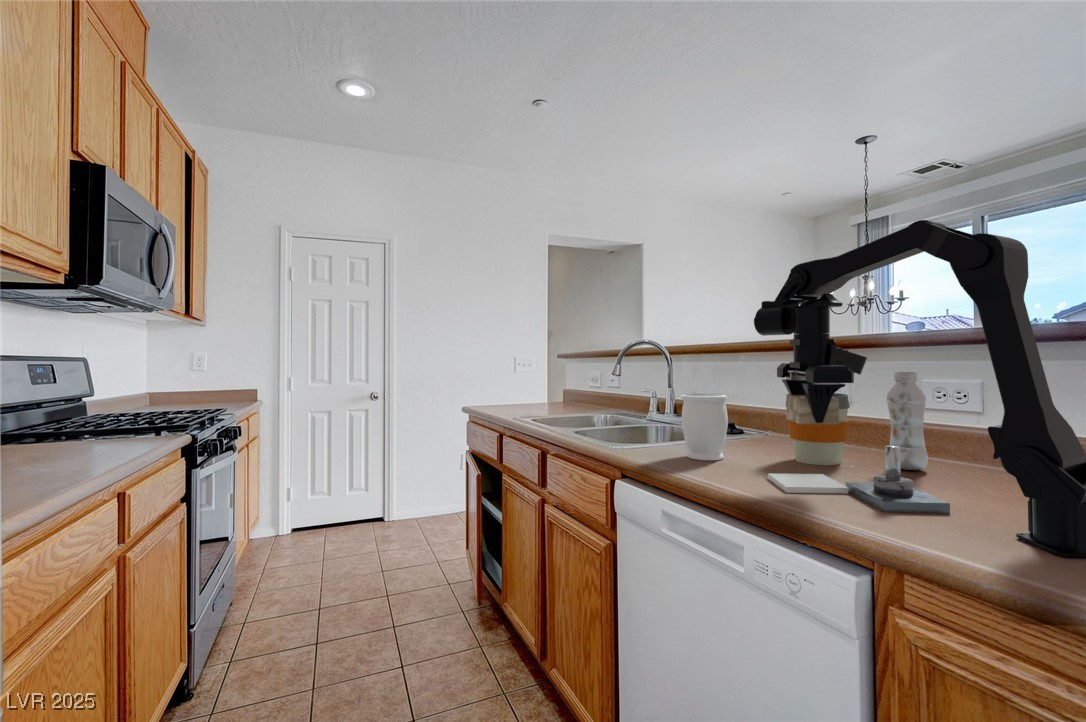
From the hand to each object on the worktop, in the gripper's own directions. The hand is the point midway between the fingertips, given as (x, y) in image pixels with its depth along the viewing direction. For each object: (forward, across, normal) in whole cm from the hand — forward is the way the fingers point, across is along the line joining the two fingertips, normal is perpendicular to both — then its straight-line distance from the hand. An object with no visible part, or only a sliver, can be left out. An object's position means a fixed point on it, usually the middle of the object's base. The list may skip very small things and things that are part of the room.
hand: (811, 419), depth 88 cm
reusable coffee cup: (+13, +22, -10) cm, 28 cm away
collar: (0, 0, 0) cm, 0 cm away
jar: (+13, +25, +14) cm, 32 cm away
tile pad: (+12, 0, +1) cm, 12 cm away
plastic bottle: (+12, +14, -24) cm, 31 cm away
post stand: (+12, -8, -9) cm, 17 cm away
